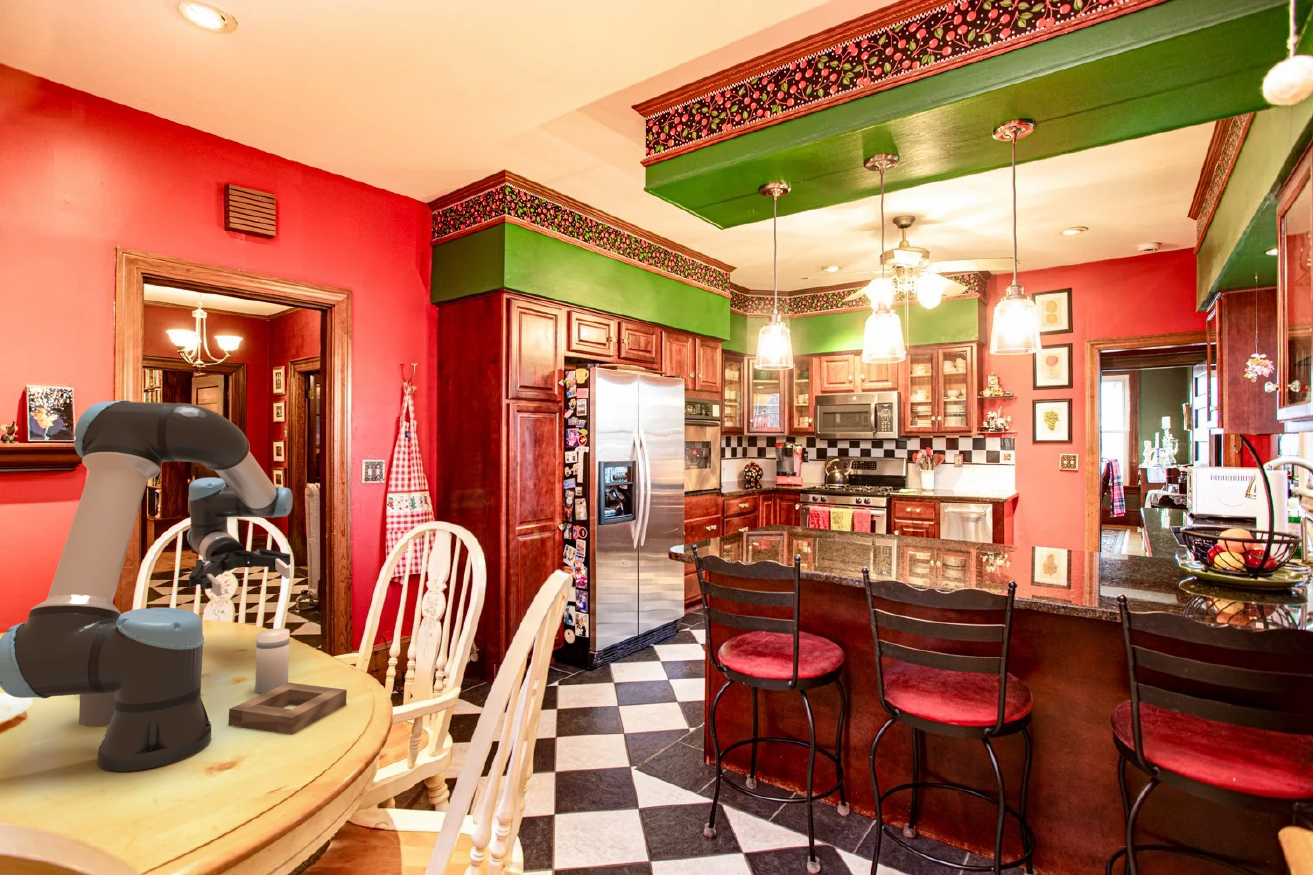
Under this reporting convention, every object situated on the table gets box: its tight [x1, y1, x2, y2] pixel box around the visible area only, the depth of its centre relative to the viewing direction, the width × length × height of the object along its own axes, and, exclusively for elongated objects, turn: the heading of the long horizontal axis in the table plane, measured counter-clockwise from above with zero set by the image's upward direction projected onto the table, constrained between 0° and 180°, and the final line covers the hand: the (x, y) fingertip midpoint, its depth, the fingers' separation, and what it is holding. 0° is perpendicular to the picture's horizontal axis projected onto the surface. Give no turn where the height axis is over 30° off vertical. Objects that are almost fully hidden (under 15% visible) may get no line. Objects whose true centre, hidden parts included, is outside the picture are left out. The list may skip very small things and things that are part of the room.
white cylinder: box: [254, 627, 291, 695], centre depth 136 cm, size 6×6×12 cm
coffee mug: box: [78, 692, 115, 728], centre depth 122 cm, size 13×10×10 cm
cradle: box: [228, 682, 348, 735], centre depth 123 cm, size 14×14×3 cm
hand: (254, 581), depth 140 cm, fingers open, 13 cm apart
